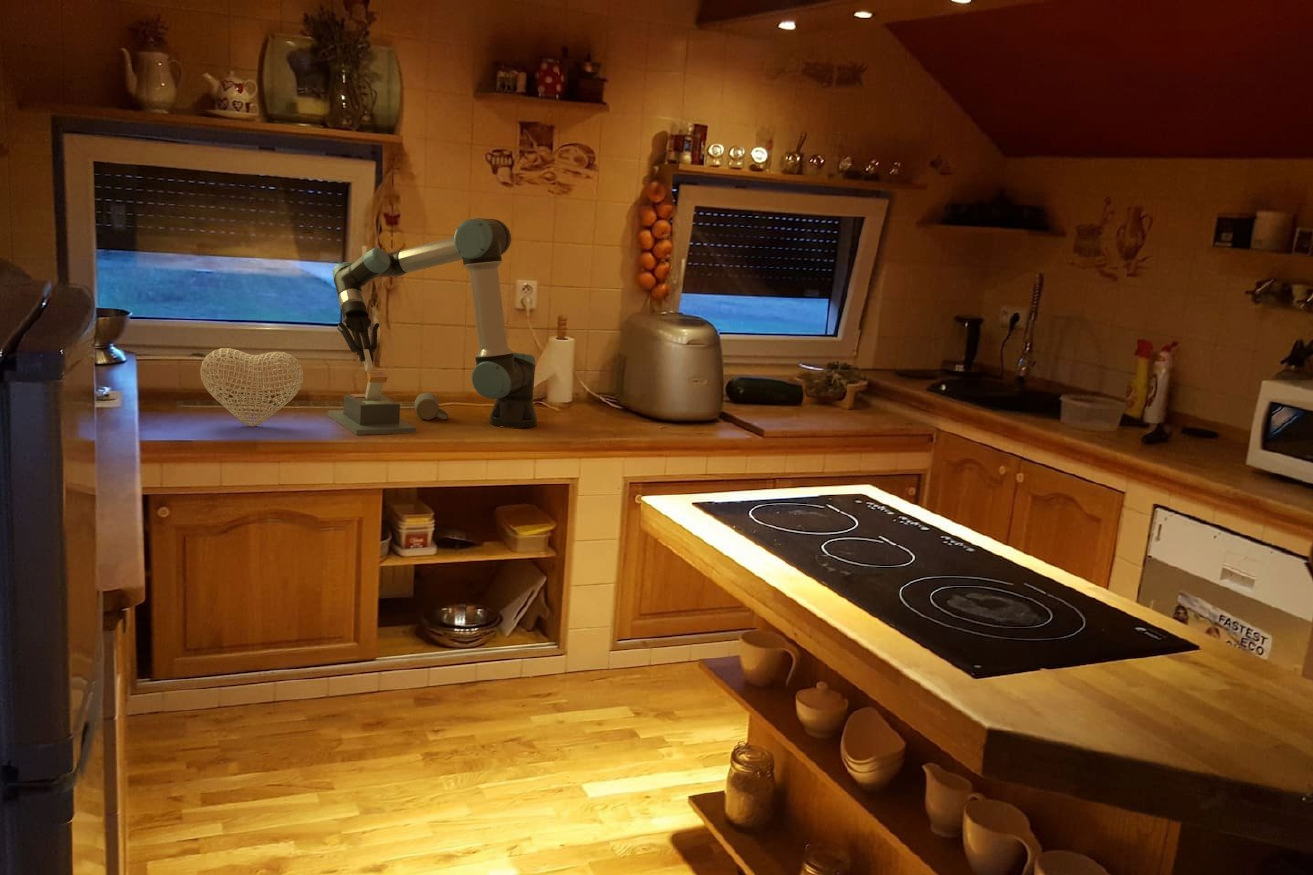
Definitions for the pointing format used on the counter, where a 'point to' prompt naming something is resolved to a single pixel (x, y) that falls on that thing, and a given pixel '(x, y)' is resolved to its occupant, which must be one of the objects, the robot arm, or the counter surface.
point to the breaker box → (371, 416)
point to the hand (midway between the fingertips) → (369, 369)
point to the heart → (248, 356)
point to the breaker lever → (375, 384)
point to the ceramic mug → (429, 407)
